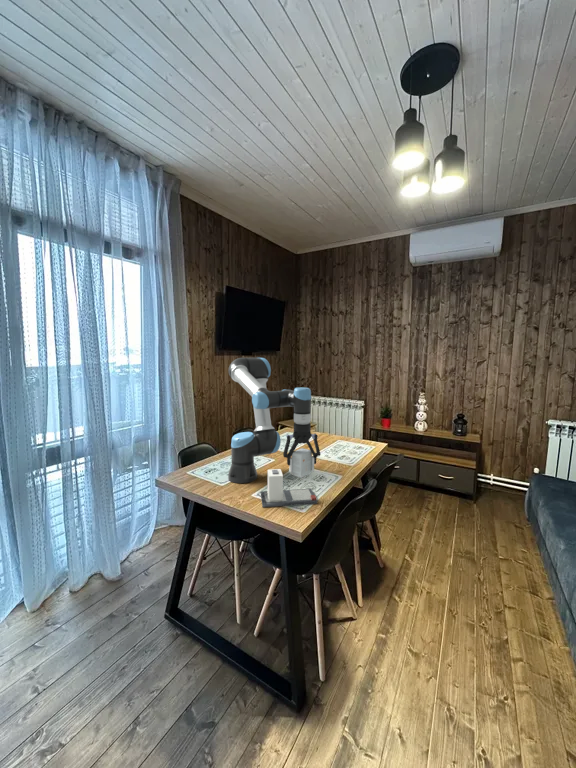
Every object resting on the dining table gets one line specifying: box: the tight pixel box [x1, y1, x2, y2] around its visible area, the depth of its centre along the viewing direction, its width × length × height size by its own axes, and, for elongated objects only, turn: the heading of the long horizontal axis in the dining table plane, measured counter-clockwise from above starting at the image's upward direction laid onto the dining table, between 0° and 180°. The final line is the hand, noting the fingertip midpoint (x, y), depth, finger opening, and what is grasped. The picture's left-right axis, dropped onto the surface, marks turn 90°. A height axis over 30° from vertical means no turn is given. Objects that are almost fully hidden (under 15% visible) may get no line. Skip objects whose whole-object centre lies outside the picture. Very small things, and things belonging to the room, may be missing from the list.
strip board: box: [260, 488, 318, 508], centre depth 139 cm, size 24×12×2 cm, turn 99°
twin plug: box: [267, 468, 284, 501], centre depth 137 cm, size 6×8×12 cm
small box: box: [291, 448, 313, 479], centre depth 138 cm, size 8×6×10 cm
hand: (301, 471), depth 138 cm, fingers closed on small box, 9 cm apart
